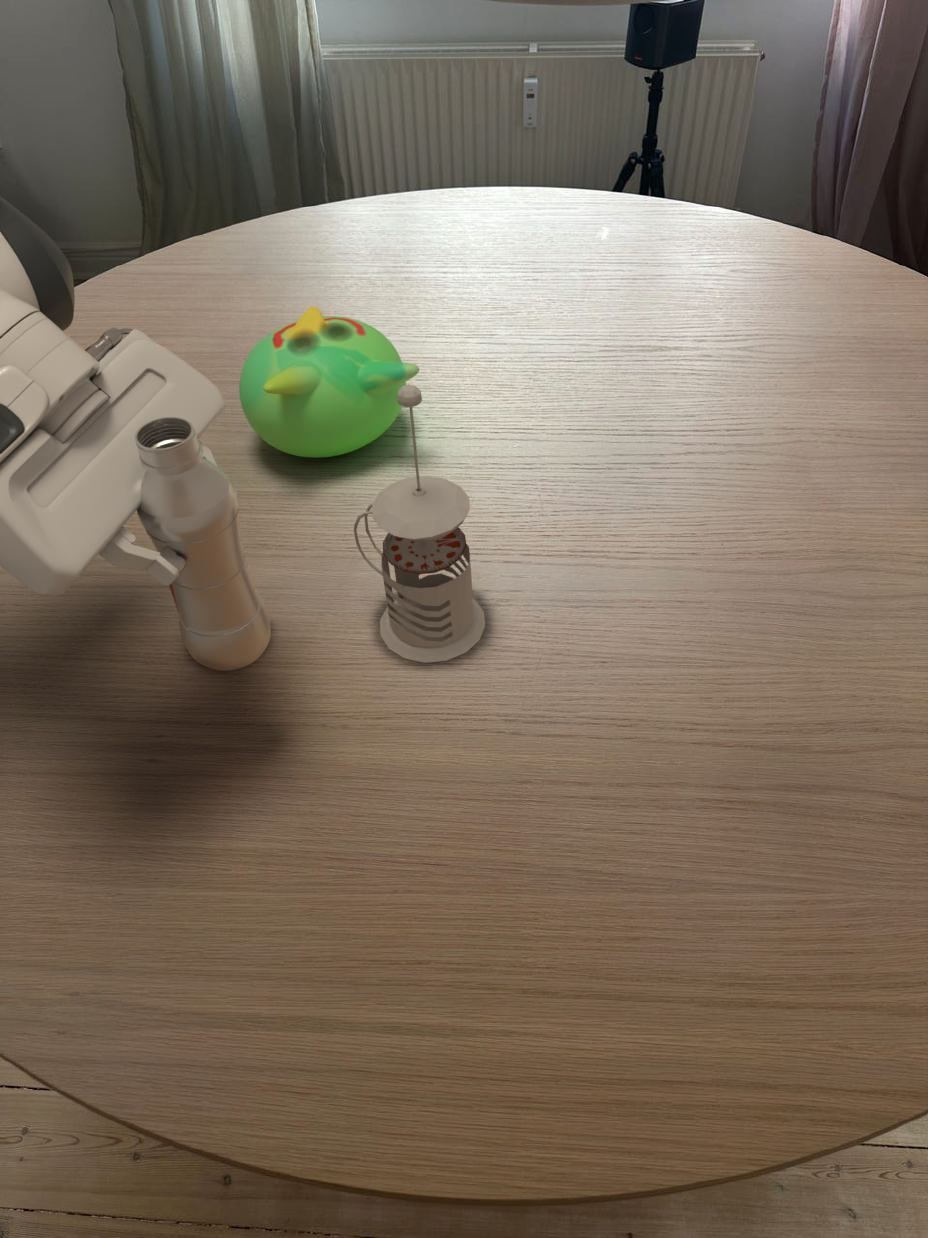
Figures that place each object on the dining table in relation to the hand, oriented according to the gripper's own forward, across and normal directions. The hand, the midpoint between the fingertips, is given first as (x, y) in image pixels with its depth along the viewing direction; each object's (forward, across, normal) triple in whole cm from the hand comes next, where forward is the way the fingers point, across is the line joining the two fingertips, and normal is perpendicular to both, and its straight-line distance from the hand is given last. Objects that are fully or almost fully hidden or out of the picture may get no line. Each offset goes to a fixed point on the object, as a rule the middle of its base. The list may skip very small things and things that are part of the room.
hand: (204, 540), depth 67 cm
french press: (+21, -16, -10) cm, 28 cm away
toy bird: (+7, -40, -24) cm, 47 cm away
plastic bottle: (+8, 0, -9) cm, 12 cm away
